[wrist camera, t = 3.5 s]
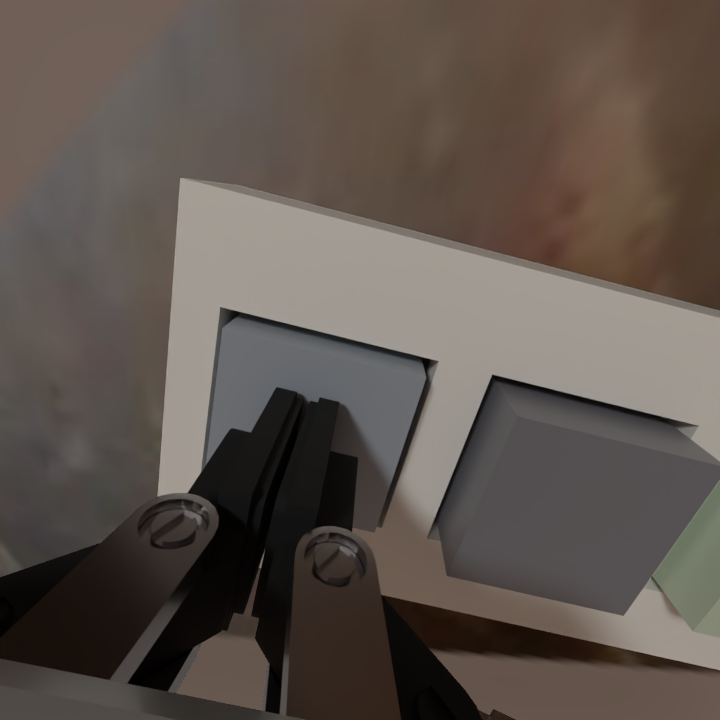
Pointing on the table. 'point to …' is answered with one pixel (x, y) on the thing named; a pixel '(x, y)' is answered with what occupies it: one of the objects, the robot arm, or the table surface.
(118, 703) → the robot arm
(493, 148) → the table surface
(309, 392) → the slate key
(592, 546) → the charcoal key
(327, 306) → the keypad
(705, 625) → the sage key
